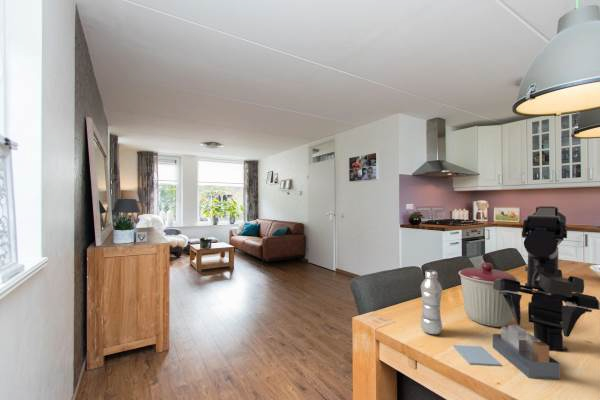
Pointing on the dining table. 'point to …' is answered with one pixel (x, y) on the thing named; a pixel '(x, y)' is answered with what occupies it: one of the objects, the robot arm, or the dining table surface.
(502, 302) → the canister
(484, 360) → the rubber pad
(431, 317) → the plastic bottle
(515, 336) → the lever cap
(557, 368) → the body
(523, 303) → the dining table surface
